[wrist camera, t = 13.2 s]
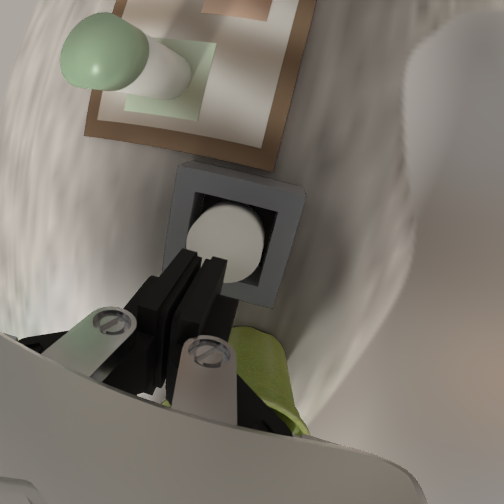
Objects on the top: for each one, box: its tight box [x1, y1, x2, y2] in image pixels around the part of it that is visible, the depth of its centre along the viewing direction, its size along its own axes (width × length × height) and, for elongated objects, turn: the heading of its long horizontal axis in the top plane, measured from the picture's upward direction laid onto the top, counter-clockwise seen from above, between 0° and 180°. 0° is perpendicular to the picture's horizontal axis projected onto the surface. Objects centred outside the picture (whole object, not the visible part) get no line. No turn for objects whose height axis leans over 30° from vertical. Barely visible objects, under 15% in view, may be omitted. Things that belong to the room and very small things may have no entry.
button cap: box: [186, 201, 265, 283], centre depth 18 cm, size 4×4×2 cm
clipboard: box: [84, 0, 317, 172], centre depth 15 cm, size 16×13×1 cm
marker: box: [60, 12, 192, 100], centre depth 12 cm, size 3×3×8 cm
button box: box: [162, 161, 306, 309], centre depth 19 cm, size 7×7×3 cm
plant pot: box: [162, 326, 310, 436], centre depth 20 cm, size 9×9×9 cm
